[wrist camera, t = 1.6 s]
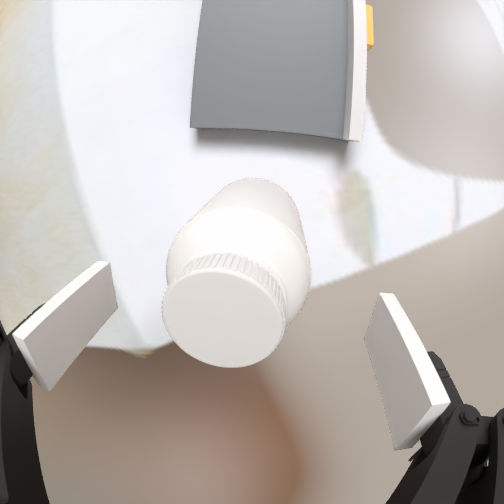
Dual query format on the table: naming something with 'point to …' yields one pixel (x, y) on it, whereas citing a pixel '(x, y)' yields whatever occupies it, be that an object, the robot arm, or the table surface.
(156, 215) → the table surface
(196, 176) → the table surface
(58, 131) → the table surface
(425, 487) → the robot arm
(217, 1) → the shelf
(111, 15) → the table surface
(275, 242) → the pill bottle
